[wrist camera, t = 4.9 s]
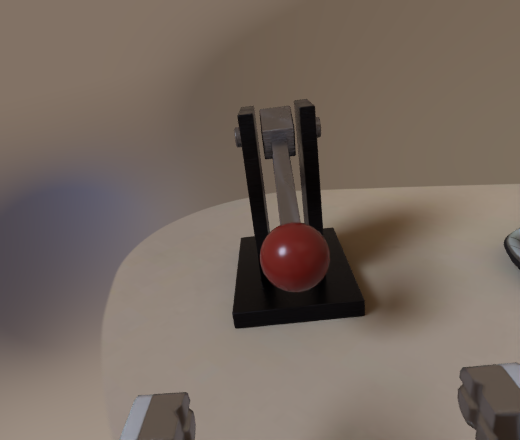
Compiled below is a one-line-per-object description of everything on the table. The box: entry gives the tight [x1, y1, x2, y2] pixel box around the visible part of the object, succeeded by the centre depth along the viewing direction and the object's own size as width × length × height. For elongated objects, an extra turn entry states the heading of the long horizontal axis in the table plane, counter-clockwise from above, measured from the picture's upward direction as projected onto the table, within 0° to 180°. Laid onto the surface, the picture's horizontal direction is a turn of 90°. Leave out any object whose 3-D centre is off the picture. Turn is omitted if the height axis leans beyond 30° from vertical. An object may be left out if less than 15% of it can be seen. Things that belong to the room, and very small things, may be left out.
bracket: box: [232, 99, 365, 328], centre depth 29 cm, size 12×9×14 cm
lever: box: [260, 106, 330, 293], centre depth 23 cm, size 14×4×4 cm, turn 0°
